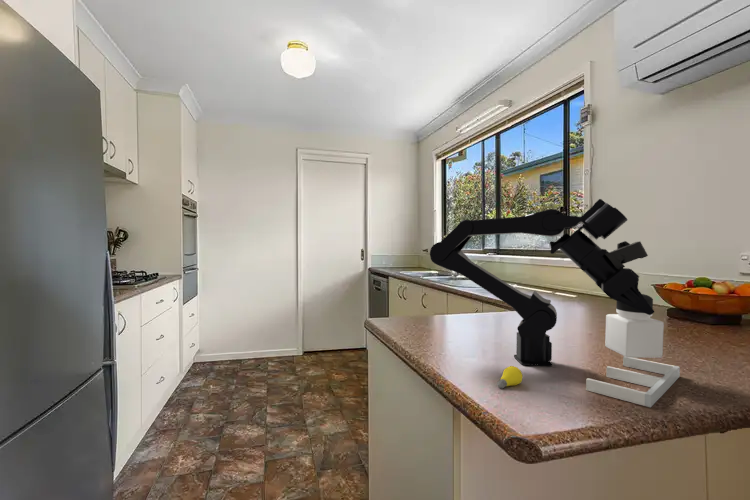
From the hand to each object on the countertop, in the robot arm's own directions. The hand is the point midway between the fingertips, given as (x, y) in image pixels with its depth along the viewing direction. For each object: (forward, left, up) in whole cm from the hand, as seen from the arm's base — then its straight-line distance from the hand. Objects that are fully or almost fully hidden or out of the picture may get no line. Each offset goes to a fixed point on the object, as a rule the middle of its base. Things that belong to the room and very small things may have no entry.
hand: (648, 311), depth 74 cm
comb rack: (-5, -4, -13) cm, 15 cm away
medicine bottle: (-2, +1, -9) cm, 9 cm away
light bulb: (-29, -7, -14) cm, 33 cm away
